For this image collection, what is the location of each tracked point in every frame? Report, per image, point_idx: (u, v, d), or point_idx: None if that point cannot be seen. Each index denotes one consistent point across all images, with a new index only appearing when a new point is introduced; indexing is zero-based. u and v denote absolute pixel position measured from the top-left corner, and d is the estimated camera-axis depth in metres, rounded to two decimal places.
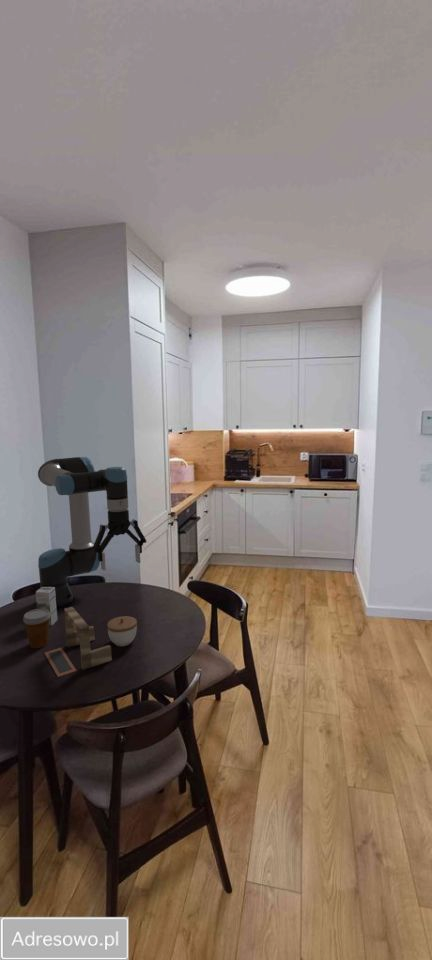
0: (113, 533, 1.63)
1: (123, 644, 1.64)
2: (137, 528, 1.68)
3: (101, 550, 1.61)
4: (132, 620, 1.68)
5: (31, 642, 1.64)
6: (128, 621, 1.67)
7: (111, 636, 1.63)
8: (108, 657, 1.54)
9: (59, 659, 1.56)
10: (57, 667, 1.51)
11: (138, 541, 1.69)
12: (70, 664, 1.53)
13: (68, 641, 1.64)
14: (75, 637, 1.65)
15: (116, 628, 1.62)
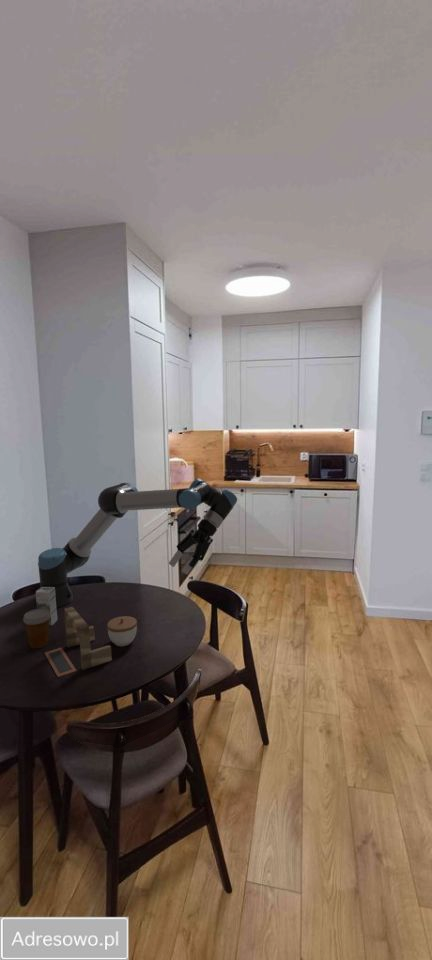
0: None
1: (123, 644, 1.64)
2: None
3: None
4: (132, 620, 1.68)
5: (31, 642, 1.64)
6: (128, 621, 1.67)
7: (111, 636, 1.63)
8: (108, 657, 1.54)
9: (59, 659, 1.56)
10: (57, 667, 1.51)
11: None
12: (70, 664, 1.53)
13: (68, 641, 1.64)
14: (75, 637, 1.65)
15: (116, 628, 1.62)
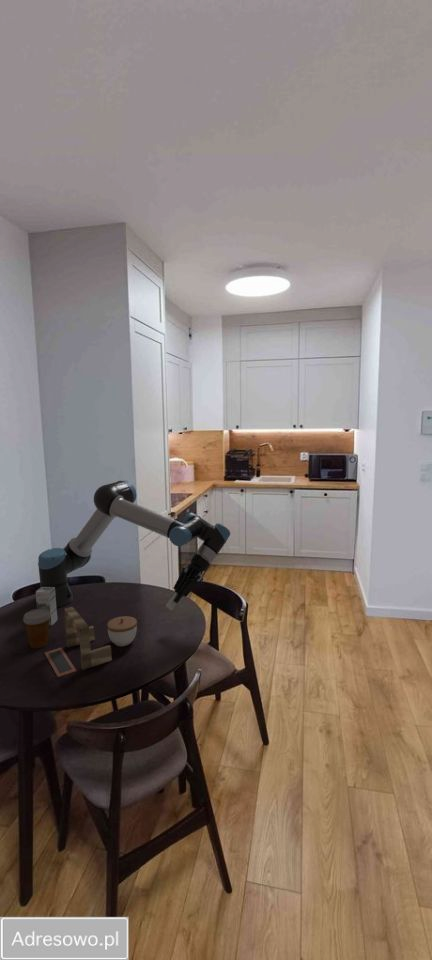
0: None
1: (123, 644, 1.64)
2: None
3: None
4: (132, 620, 1.68)
5: (31, 642, 1.64)
6: (128, 621, 1.67)
7: (111, 636, 1.63)
8: (108, 657, 1.54)
9: (59, 659, 1.56)
10: (57, 667, 1.51)
11: None
12: (70, 664, 1.53)
13: (68, 641, 1.64)
14: (75, 637, 1.65)
15: (116, 628, 1.62)
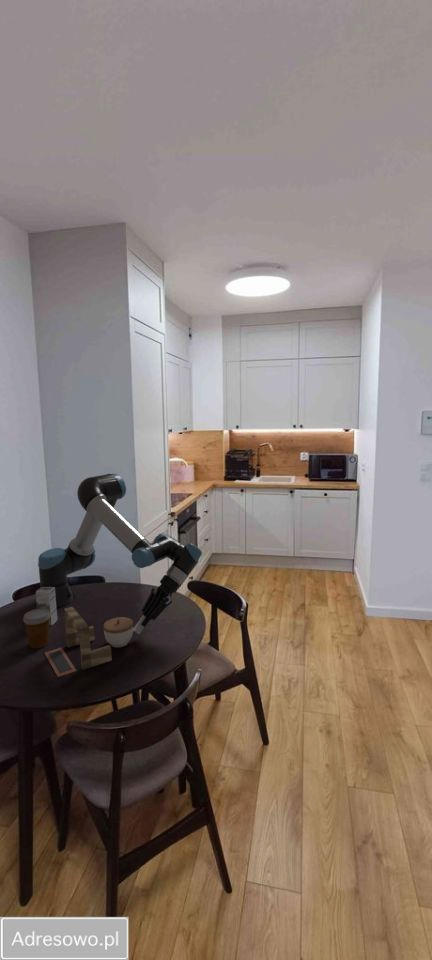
0: None
1: (119, 645, 1.63)
2: None
3: None
4: (129, 621, 1.67)
5: (31, 642, 1.64)
6: (124, 622, 1.66)
7: (107, 637, 1.62)
8: (108, 657, 1.54)
9: (59, 659, 1.56)
10: (57, 667, 1.51)
11: None
12: (70, 664, 1.53)
13: (68, 641, 1.64)
14: (75, 637, 1.65)
15: (112, 629, 1.61)
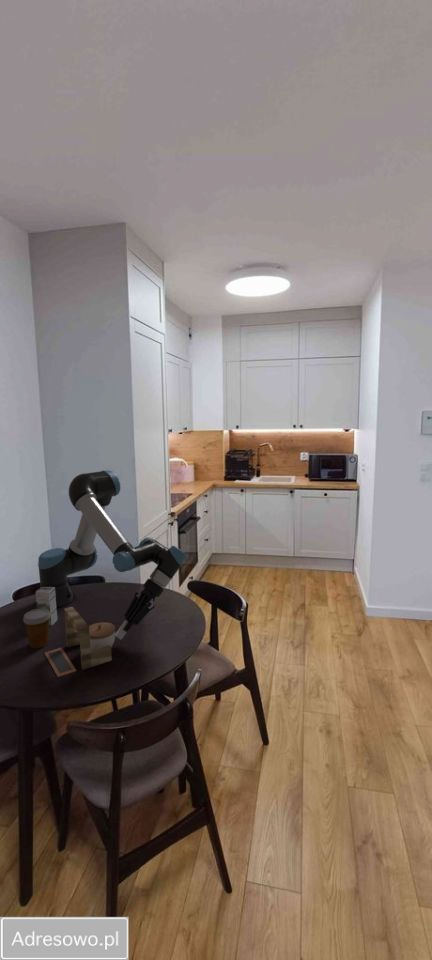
0: None
1: None
2: None
3: None
4: (110, 626, 1.63)
5: (31, 642, 1.64)
6: (106, 627, 1.62)
7: None
8: (108, 657, 1.54)
9: (59, 659, 1.56)
10: (57, 667, 1.51)
11: None
12: (70, 664, 1.53)
13: (68, 641, 1.64)
14: (75, 637, 1.65)
15: (94, 635, 1.57)
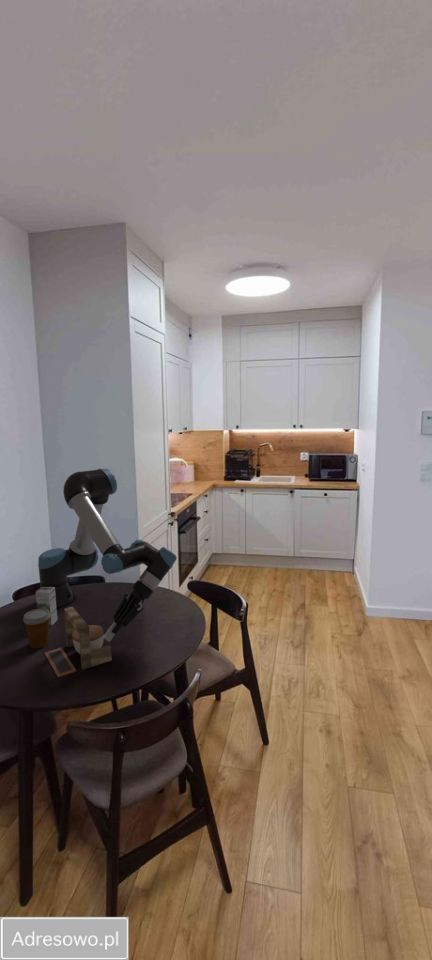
0: None
1: None
2: None
3: None
4: (99, 628, 1.61)
5: (31, 642, 1.64)
6: (94, 630, 1.60)
7: (77, 647, 1.56)
8: (108, 657, 1.54)
9: (59, 659, 1.56)
10: (57, 667, 1.51)
11: None
12: (70, 664, 1.53)
13: (68, 641, 1.64)
14: None
15: None
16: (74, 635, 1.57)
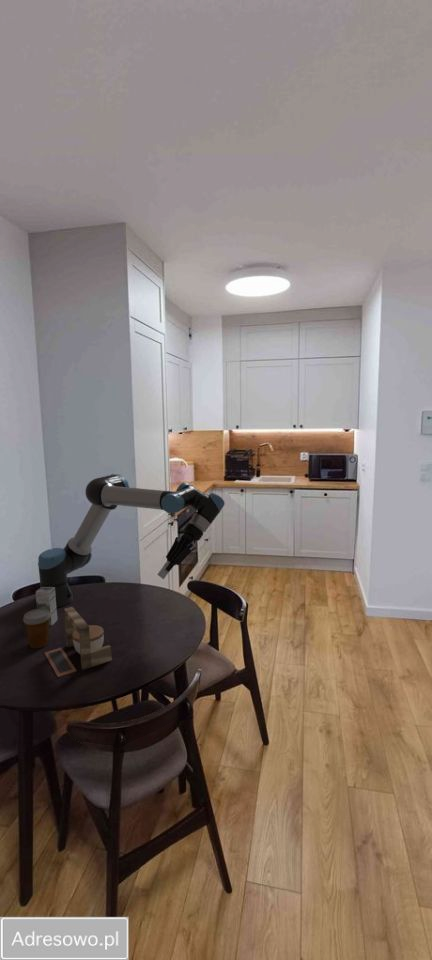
0: None
1: None
2: None
3: None
4: (99, 628, 1.61)
5: (31, 642, 1.64)
6: (94, 630, 1.60)
7: (77, 647, 1.56)
8: (108, 657, 1.54)
9: (59, 659, 1.56)
10: (57, 667, 1.51)
11: None
12: (70, 664, 1.53)
13: (68, 641, 1.64)
14: None
15: None
16: (74, 635, 1.57)
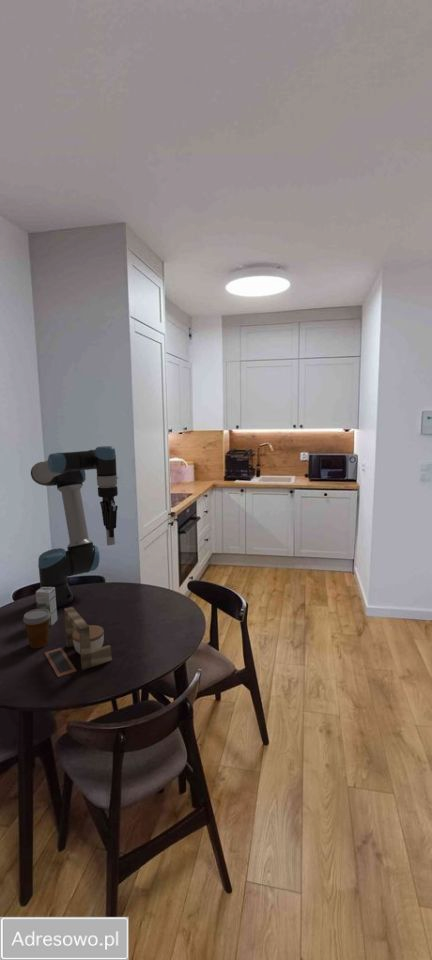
0: None
1: None
2: None
3: None
4: (99, 628, 1.61)
5: (31, 642, 1.64)
6: (94, 630, 1.60)
7: (77, 647, 1.56)
8: (108, 657, 1.54)
9: (59, 659, 1.56)
10: (57, 667, 1.51)
11: None
12: (70, 664, 1.53)
13: (68, 641, 1.64)
14: None
15: None
16: (74, 635, 1.57)
